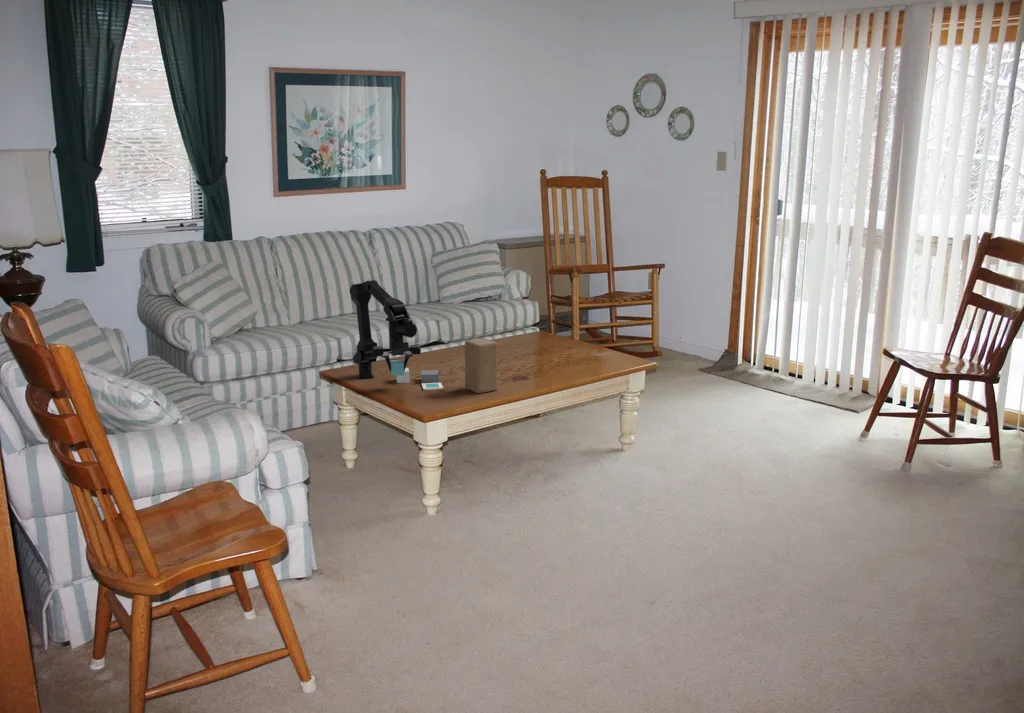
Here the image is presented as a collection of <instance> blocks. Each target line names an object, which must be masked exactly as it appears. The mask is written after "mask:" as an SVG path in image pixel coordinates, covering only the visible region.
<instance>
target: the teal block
mask: <svg viewBox="0 0 1024 713" xmlns="http://www.w3.org/2000/svg"><path fill="white" fill-rule="evenodd" d="M390 365H391V372H390V375H391V376H392V377H393V376H395V377H396V375H404V359H397V360H390Z"/></svg>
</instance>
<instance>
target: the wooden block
mask: <svg viewBox="0 0 1024 713" xmlns="http://www.w3.org/2000/svg"><path fill="white" fill-rule="evenodd" d="M498 347H499V346H498V342H497V341H494V340H491V339H488V338H486V337H482V338H476V339H470V340H469V339H467V340H465V342H464V382H465V383H464V387H465V389H467V390H469V391H472V392H474V393H477V394H483V393H486V392H493V391H497V390H498V387H499V386H498V385H499V384H498V383H499V382H498V380H499V379H498V378H499V377H498V376H499V375H498V374H499V372H498V370H499V368H498V367H499V366H498V364H499V363H498V362H499V361H498V360H499V357H498V356H499V354H498V353H499V352H498V351H499V350H498V349H499V348H498Z"/></svg>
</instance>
